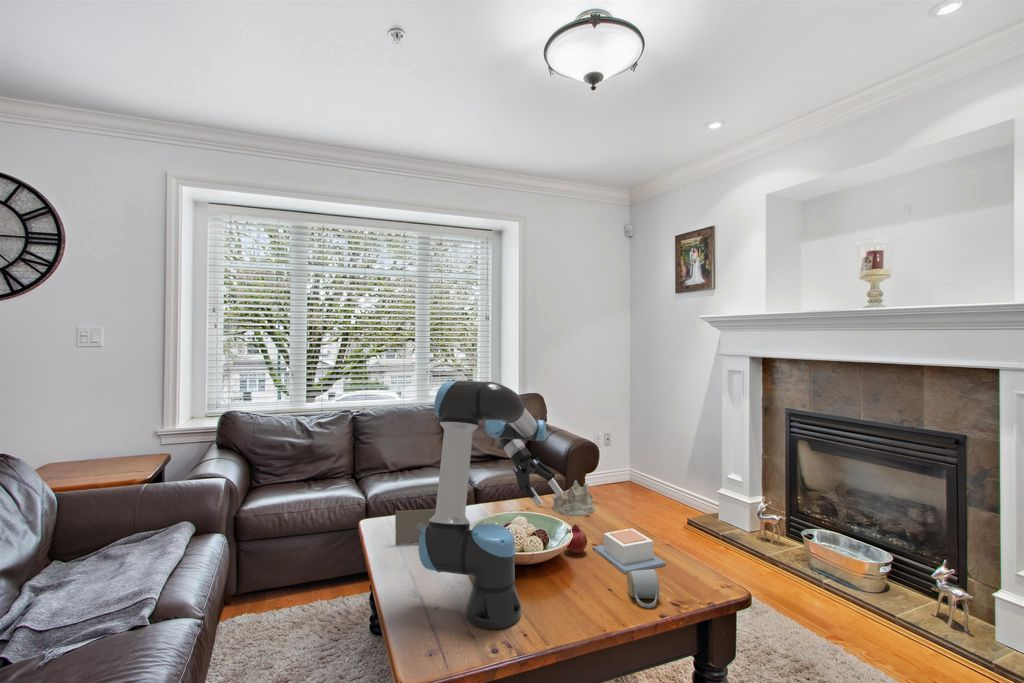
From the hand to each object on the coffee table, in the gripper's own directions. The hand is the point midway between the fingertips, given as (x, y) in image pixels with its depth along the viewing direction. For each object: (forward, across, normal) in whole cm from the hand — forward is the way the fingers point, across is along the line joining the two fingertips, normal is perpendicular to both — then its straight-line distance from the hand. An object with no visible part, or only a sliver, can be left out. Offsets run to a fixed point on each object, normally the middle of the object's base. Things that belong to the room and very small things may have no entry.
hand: (550, 499), depth 183 cm
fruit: (+20, +1, -4) cm, 20 cm away
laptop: (-18, +25, -42) cm, 52 cm away
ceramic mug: (+42, +15, +19) cm, 48 cm away
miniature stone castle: (+4, -36, -21) cm, 42 cm away
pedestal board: (+31, -7, +8) cm, 33 cm away
